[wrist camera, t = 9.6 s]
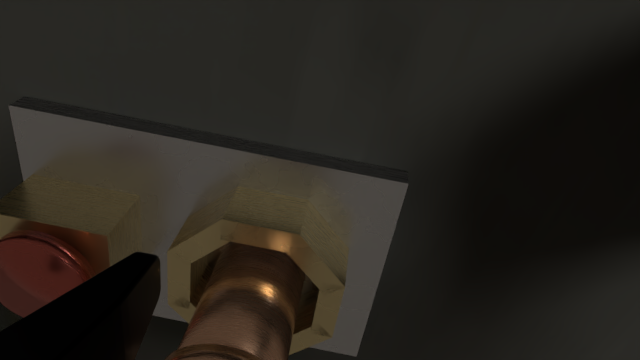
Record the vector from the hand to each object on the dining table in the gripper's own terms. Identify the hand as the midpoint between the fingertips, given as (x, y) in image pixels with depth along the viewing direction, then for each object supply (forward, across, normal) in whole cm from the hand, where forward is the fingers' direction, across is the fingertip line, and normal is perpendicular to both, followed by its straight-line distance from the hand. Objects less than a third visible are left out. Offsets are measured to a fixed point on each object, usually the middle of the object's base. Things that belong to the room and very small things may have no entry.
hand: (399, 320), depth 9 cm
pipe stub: (+11, +4, +9) cm, 15 cm away
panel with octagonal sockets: (+12, +7, +9) cm, 17 cm away
